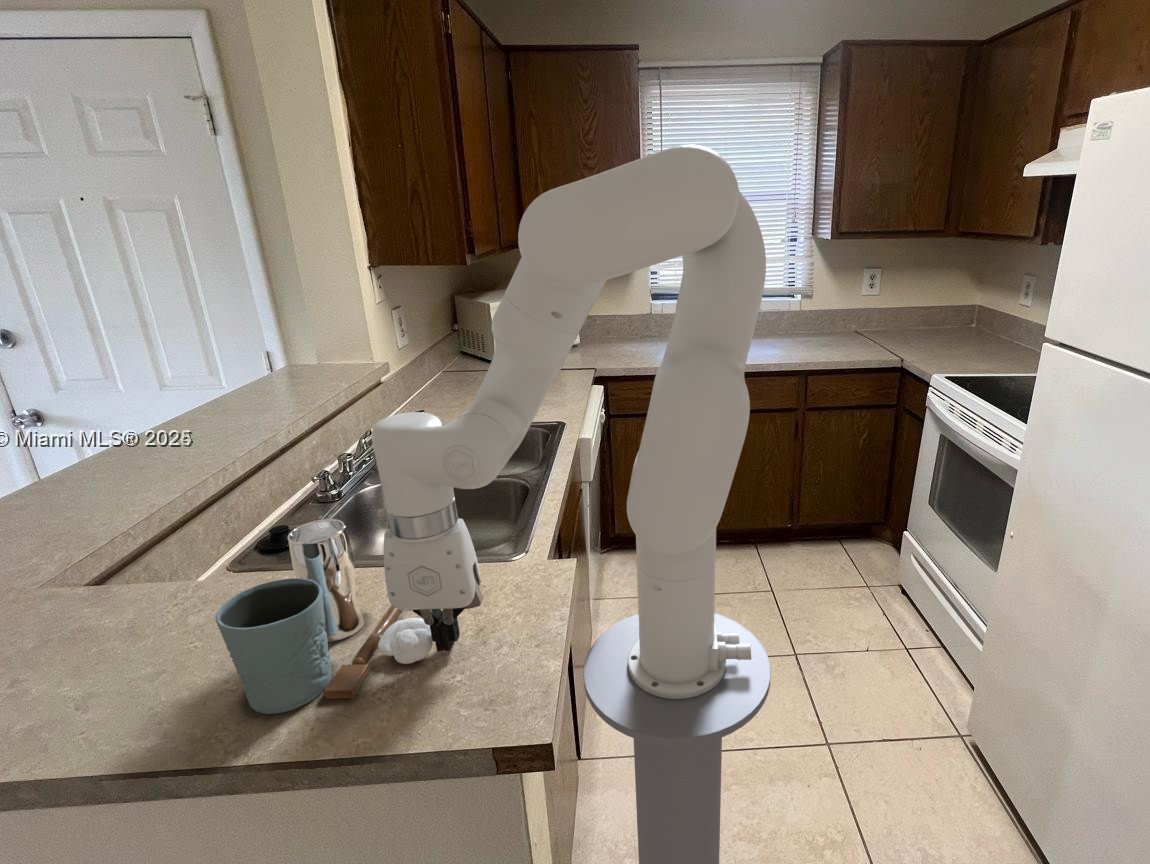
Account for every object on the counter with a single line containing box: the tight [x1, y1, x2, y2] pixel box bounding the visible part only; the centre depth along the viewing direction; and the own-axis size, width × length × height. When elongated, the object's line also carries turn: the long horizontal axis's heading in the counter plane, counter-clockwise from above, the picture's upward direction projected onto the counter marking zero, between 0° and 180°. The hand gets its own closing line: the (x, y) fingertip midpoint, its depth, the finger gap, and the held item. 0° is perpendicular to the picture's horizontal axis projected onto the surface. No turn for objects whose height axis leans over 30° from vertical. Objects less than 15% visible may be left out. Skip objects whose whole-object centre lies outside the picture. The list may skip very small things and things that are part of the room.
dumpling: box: [377, 617, 434, 665], centre depth 78 cm, size 7×5×4 cm
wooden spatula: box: [323, 604, 403, 700], centre depth 79 cm, size 17×3×2 cm, turn 1°
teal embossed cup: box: [215, 577, 332, 715], centre depth 71 cm, size 10×10×12 cm
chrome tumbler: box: [287, 518, 365, 643], centre depth 81 cm, size 7×7×15 cm
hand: (447, 644), depth 78 cm, fingers closed
